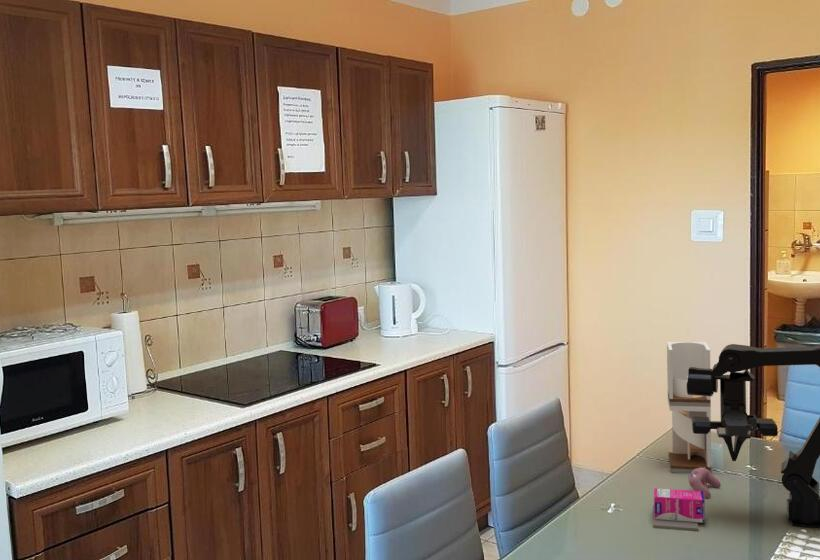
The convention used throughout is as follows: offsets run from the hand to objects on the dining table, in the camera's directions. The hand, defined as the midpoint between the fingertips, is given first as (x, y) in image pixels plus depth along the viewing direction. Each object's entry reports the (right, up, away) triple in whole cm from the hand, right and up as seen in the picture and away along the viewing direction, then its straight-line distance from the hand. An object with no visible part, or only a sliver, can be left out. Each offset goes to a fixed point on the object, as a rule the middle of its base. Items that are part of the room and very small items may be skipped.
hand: (733, 460), depth 186 cm
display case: (+1, -10, +34) cm, 35 cm away
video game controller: (-1, -12, +15) cm, 19 cm away
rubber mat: (-15, -14, -1) cm, 20 cm away
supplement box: (-8, -10, -3) cm, 14 cm away
